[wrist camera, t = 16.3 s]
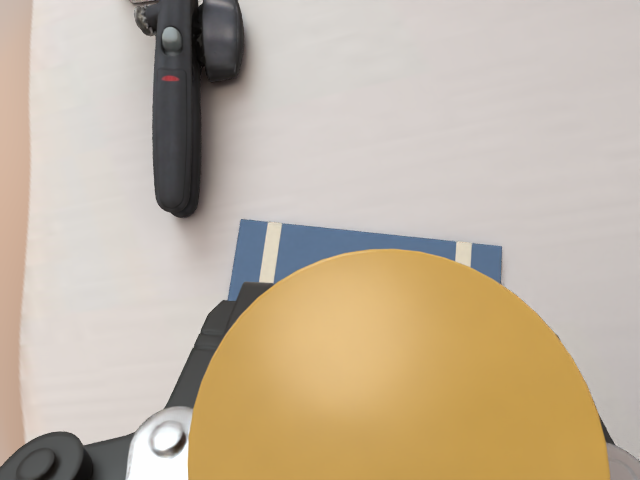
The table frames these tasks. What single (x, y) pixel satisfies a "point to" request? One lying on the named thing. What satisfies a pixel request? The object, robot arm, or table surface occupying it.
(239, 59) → the can opener
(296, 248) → the tea towel
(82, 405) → the table surface
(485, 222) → the table surface
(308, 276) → the chocolate tin
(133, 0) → the flask
